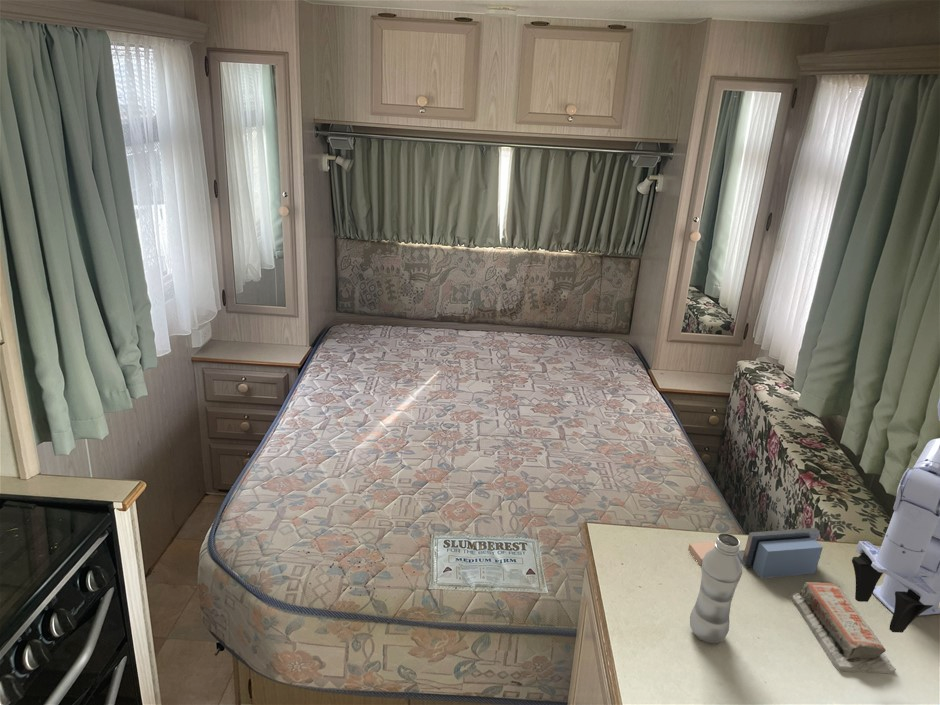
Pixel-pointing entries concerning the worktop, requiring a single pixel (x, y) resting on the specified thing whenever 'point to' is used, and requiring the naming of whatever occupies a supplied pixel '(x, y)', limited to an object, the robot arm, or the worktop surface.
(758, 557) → the grayish blue rectangular block
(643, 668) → the worktop surface
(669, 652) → the worktop surface
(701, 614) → the plastic bottle
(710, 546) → the lying book
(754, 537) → the bookend
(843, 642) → the packaged product
